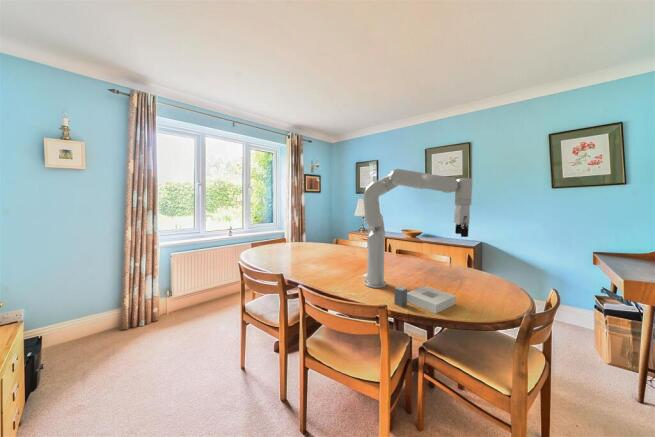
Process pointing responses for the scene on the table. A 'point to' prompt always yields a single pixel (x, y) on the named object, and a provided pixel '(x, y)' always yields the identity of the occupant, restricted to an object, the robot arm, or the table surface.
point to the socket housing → (430, 299)
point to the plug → (400, 296)
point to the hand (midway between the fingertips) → (461, 235)
